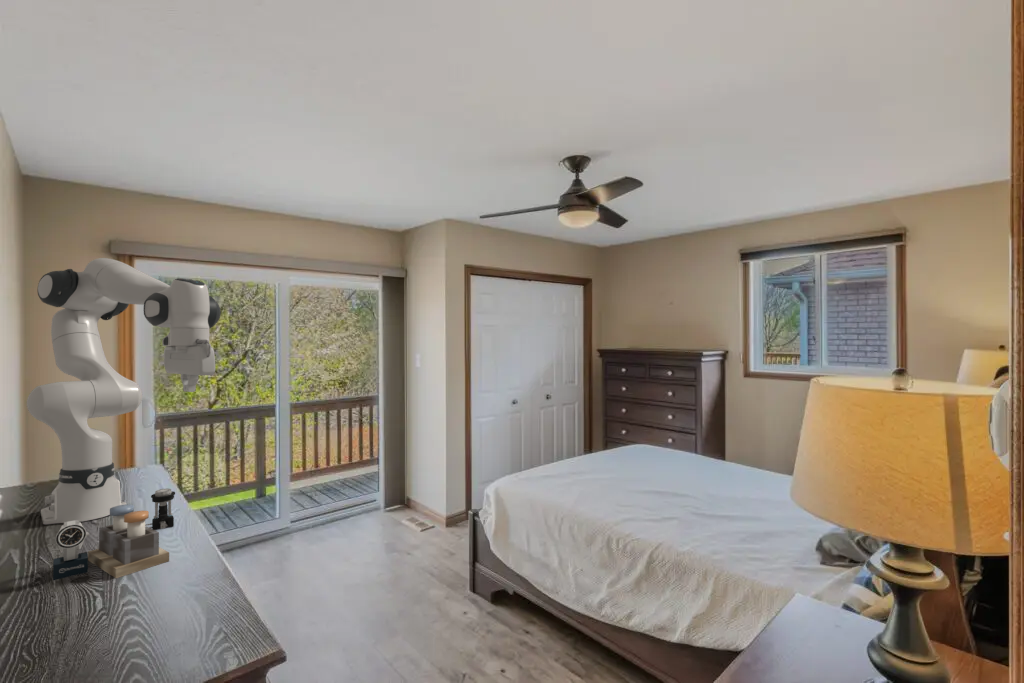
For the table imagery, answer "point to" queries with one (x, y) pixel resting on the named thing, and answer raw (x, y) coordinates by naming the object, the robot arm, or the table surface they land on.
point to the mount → (127, 551)
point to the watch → (70, 551)
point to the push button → (162, 509)
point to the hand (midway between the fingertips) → (189, 391)
